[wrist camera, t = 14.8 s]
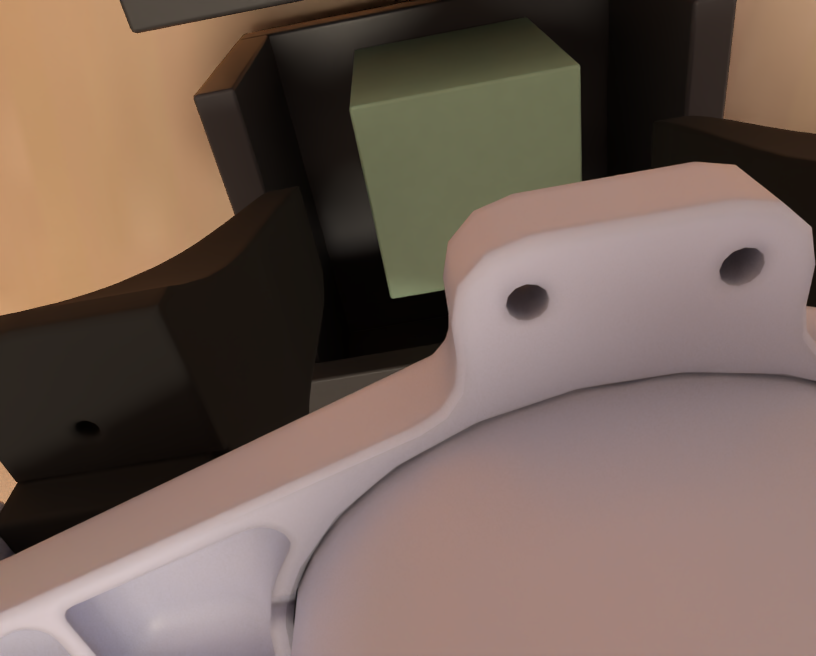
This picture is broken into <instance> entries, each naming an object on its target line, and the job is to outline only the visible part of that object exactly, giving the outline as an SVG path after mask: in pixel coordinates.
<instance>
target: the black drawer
mask: <svg viewBox="0 0 816 656" xmlns="http://www.w3.org/2000/svg"><path fill="white" fill-rule="evenodd" d="M297 1H302V0H120V3H121V5H122V8H123V10H124V13H125V16H126V18H127V21H128V23H129V26H130V29H131V30H132V31H133V32H135V33H141V32H146V31H151V30H156V29H161V28H166V27H171V26H176V25H181V24H186V23H191V22H196V21H201V20H206V19H211V18H216V17H221V16H226V15H231V14H236V13H241V12H246V11H251V10H256V9H262V8H267V7H272V6H277V5H282V4H287V3H292V2H297ZM736 1H737V0H415V1H410V2H405V3H400V4H394V5H389V6H384V7H379V8H374V9H369V10H364V11H359V12H354V13H349V14H344V15H338V16H333V17H328V18H323V19H318V20H313V21H308V22H303V23H298V24H293V25H287V26H282V27H277V28H272V29H267V30H262V31H257V32H252V33H247V34H244V35H243V36H242V37H241V38H240V40H239V41H238V42H237V43H236V44H235V46H234V47H233V48H232V49H231V51H230V52H229V53H228V54H227V56H226V57H225V58H224V59H223V60H222V62H221V63H220V64H219V65H218V67H217V68H216V69H215V70H214V72H213V73H212V74H211V75H210V77H209V78H208V79H207V80H206V82H205V83H204V84H203V85H202V87H201V88H200V89H199V90H198V92H197V93H196V94H195V95H194V101H195V104H196V107H197V110H198V113H199V115H200V118H201V121H202V124H203V127H204V129H205V132H206V135H207V138H208V141H209V144H210V146H211V149H212V152H213V155H214V158H215V160H216V163H217V166H218V169H219V172H220V175H221V177H222V180H223V183H224V186H225V189H226V191H227V194H228V197H229V200H230V203H231V205H232V208H233V211H234V214H235V215H236V214H237V213H239V212H240V211H241V210H242V209H244V208H245V207H246V206H248V205H249V204H250V203H251V202H253V201H254V200H255V199H257V198H258V197H260V196H261V195H263V194H265V193H267V192H269V191H273V190H279V189H284V188H290V187H295V186H299V187H300V191H301V194H302V198H303V202H304V205H305V209H306V212H307V216H308V219H309V223H310V226H311V230H312V233H313V237H314V240H315V244H316V247H317V251H318V254H319V258H320V261H321V265H322V268H323V279H324V308H323V315H322V321H321V328H320V334H319V340H318V346H317V352H316V358H315V363H321V362H327V361H333V360H339V359H346V358H352V357H358V356H364V355H370V354H376V353H382V352H388V351H394V350H400V349H406V348H412V347H418V346H424V345H430V344H436V343H442V342H444V340H445V338H446V335H447V332H448V329H449V313H448V306H447V300H446V294H445V290H442V291H436V292H430V293H424V294H418V295H412V296H406V297H401V298H395V299H392V298H391V297H390V293H389V289H388V284H387V279H386V275H385V270H384V266H383V261H382V257H381V252H380V248H379V243H378V239H377V234H376V229H375V225H374V220H373V216H372V211H371V207H370V202H369V198H368V193H367V188H366V184H365V179H364V175H363V170H362V166H361V161H360V157H359V152H358V147H357V143H356V138H355V134H354V129H353V125H352V120H351V116H350V111H349V108H350V97H351V86H352V75H353V63H354V53H355V50H358V49H363V48H368V47H373V46H378V45H384V44H389V43H394V42H399V41H404V40H410V39H415V38H420V37H425V36H430V35H436V34H441V33H446V32H451V31H456V30H462V29H467V28H472V27H477V26H482V25H488V24H493V23H498V22H503V21H508V20H514V19H519V18H524V17H526V18H528V19H529V20H530V21H531V22H532V23H534V24H535V25H536V26H537V27H538V28H539V29H540V30H541V31H543V32H544V33H545V34H546V35H547V36H548V37H549V38H550V39H551V40H553V41H554V42H555V43H556V44H557V45H558V46H559V47H560V48H561V49H563V50H564V51H565V52H566V53H567V54H568V55H569V56H570V57H572V58H573V59H574V60H575V61H576V62H577V63H578V64H579V65H580V75H581V149H582V181H588V180H593V179H599V178H605V177H610V176H616V175H622V174H627V173H633V172H639V171H644V170H650V169H651V153H652V133H653V122H654V121H660V120H665V119H671V118H676V117H682V116H706V117H714V118H721V119H723V116H724V107H725V98H726V89H727V81H728V72H729V63H730V54H731V45H732V37H733V28H734V19H735V10H736Z"/></svg>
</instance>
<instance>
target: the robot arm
mask: <svg viewBox="0 0 816 656" xmlns="http://www.w3.org/2000/svg"><path fill="white" fill-rule="evenodd" d="M443 282H444V288H445V294H446V300H447V306H448V313H449V329H448V332H447V335H446V338H445V340H444V342H443V343H442V344H441V345H440V347H439V348H438V349H437V350H436V352H435V353H434V354H433V355H431V356H429V357H427V358H425V359H423V360H420V361H418V362H416V363H414V364H412V365H410V366H408V367H406V368H404V369H402V370H400V371H397V372H395V373H393V374H391V375H389V376H387V377H385V378H383V379H381V380H379V381H377V382H375V383H372V384H370V385H368V386H366V387H364V388H362V389H360V390H358V391H356V392H354V393H352V394H349V395H347V396H345V397H343V398H341V399H339V400H337V401H335V402H333V403H331V404H329V405H326V406H324V407H322V408H320V409H318V410H316V411H314V412H312V413H310V414H309V402H310V391H311V382H312V376H313V370H314V364H315V358H316V352H317V346H318V340H319V334H320V328H321V321H322V315H323V308H324V279H323V268H322V265H321V261H320V258H319V254H318V251H317V247H316V244H315V240H314V237H313V233H312V230H311V226H310V223H309V219H308V216H307V212H306V209H305V205H304V202H303V198H302V194H301V191H300V187H299V186H295V187H290V188H284V189H279V190H273V191H269V192H267V193H265V194H263V195H261V196H260V197H258V198H257V199H255V200H254V201H253V202H251V203H250V204H249V205H248V206H246V207H245V208H244V209H242V210H241V211H240V212H239V213H237V214H236V215H235V216H233V217H232V218H231V219H230V220H228V221H227V222H226V223H224V224H223V225H222V226H220V227H219V228H217V229H216V230H215V231H213V232H212V233H210V234H209V235H208V236H206V237H205V238H203V239H202V240H200V241H199V242H198V243H196V244H195V245H193V246H191V247H190V248H188V249H187V250H185V251H183V252H182V253H180V254H178V255H176V256H175V257H173V258H171V259H169V260H167V261H165V262H164V263H162V264H160V265H158V266H156V267H154V268H151V269H149V270H147V271H145V272H142V273H140V274H138V275H135V276H133V277H131V278H129V279H126V280H124V281H122V282H119V283H117V284H114V285H112V286H109V287H106V288H103V289H100V290H97V291H95V292H92V293H88V294H85V295H82V296H79V297H76V298H72V299H69V300H65V301H62V302H58V303H54V304H50V305H46V306H42V307H37V308H33V309H29V310H25V311H21V312H16V313H11V314H6V315H2V316H0V461H1V463H2V464H3V465H4V467H5V468H6V469H7V470H8V472H9V473H10V474H11V476H12V477H13V478H14V479H15V481H16V482H18V483H17V484H16V486H15V488H14V490H13V491H12V493H11V495H10V496H9V498H8V500H7V502H6V503H5V504H4V503H3V502H1V501H0V656H816V134H812V133H805V132H797V131H790V130H784V129H778V128H772V127H766V126H760V125H755V124H749V123H744V122H738V121H732V120H727V119H721V118H714V117H706V116H682V117H676V118H671V119H665V120H660V121H654V122H653V133H652V153H651V169H650V170H644V171H639V172H633V173H627V174H622V175H616V176H610V177H605V178H599V179H593V180H588V181H582V182H576V183H571V184H565V185H559V186H554V187H548V188H542V189H537V190H531V191H525V192H520V193H514V194H511V195H509V196H506V197H504V198H502V199H499V200H497V201H495V202H493V203H490V204H488V205H486V206H483V207H481V208H479V209H476V210H474V211H473V212H472V213H471V214H470V216H469V217H468V218H467V219H466V220H465V222H464V223H463V224H462V225H461V227H460V228H459V229H458V230H457V231H456V233H455V234H454V235H453V236H452V238H451V239H450V240H449V241H448V245H447V252H446V258H445V265H444V272H443Z"/></svg>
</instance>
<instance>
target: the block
mask: <svg viewBox="0 0 816 656" xmlns="http://www.w3.org/2000/svg"><path fill="white" fill-rule="evenodd" d="M349 111H350V116H351V120H352V125H353V129H354V134H355V138H356V143H357V147H358V152H359V157H360V161H361V166H362V170H363V175H364V179H365V184H366V188H367V193H368V198H369V202H370V207H371V211H372V216H373V220H374V225H375V229H376V234H377V239H378V243H379V248H380V252H381V257H382V261H383V266H384V270H385V275H386V279H387V284H388V289H389V293H390V297H391V298H392V299H395V298H401V297H406V296H412V295H418V294H424V293H430V292H436V291H442V290H445V288H444V282H443V272H444V265H445V258H446V252H447V245H448V241H449V240H450V239H451V238H452V236H453V235H454V234H455V233H456V231H457V230H458V229H459V228H460V227H461V225H462V224H463V223H464V222H465V220H466V219H467V218H468V217H469V216H470V214H471V213H472V212H473V211H474V210H476V209H479V208H481V207H483V206H486V205H488V204H490V203H493V202H495V201H497V200H499V199H502V198H504V197H506V196H509V195H511V194H514V193H520V192H525V191H531V190H537V189H542V188H548V187H554V186H559V185H565V184H571V183H576V182H582V149H581V75H580V65H579V64H578V63H577V62H576V61H575V60H574V59H573V58H572V57H570V56H569V55H568V54H567V53H566V52H565V51H564V50H563V49H561V48H560V47H559V46H558V45H557V44H556V43H555V42H554V41H553V40H551V39H550V38H549V37H548V36H547V35H546V34H545V33H544V32H543V31H541V30H540V29H539V28H538V27H537V26H536V25H535V24H534V23H532V22H531V21H530V20H529V19H528V18H526V17H524V18H519V19H514V20H508V21H503V22H498V23H493V24H488V25H482V26H477V27H472V28H467V29H462V30H456V31H451V32H446V33H441V34H436V35H430V36H425V37H420V38H415V39H410V40H404V41H399V42H394V43H389V44H384V45H378V46H373V47H368V48H363V49H358V50H355V53H354V63H353V75H352V86H351V97H350V108H349Z"/></svg>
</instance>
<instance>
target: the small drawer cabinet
mask: <svg viewBox="0 0 816 656" xmlns="http://www.w3.org/2000/svg"><path fill="white" fill-rule="evenodd" d="M442 343H443V342H442ZM442 343H436V344H430V345H424V346H418V347H412V348H406V349H400V350H394V351H388V352H382V353H376V354H370V355H364V356H358V357H352V358H346V359H339V360H333V361H327V362H321V363H315V364H314V370H313V376H312V382H311V391H310V402H309V414H310V413H312V412H314V411H316V410H318V409H320V408H322V407H324V406H326V405H329V404H331V403H333V402H335V401H337V400H339V399H341V398H343V397H345V396H347V395H349V394H352V393H354V392H356V391H358V390H360V389H362V388H364V387H366V386H368V385H370V384H372V383H375V382H377V381H379V380H381V379H383V378H385V377H387V376H389V375H391V374H393V373H395V372H397V371H400V370H402V369H404V368H406V367H408V366H410V365H412V364H414V363H416V362H418V361H420V360H423V359H425V358H427V357H429V356H431V355H433V354H434V353H435V352H436V350H437V349H438V348H439V347H440V345H441V344H442Z"/></svg>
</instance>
